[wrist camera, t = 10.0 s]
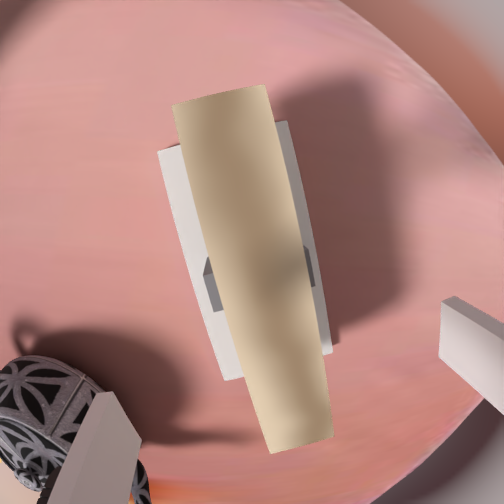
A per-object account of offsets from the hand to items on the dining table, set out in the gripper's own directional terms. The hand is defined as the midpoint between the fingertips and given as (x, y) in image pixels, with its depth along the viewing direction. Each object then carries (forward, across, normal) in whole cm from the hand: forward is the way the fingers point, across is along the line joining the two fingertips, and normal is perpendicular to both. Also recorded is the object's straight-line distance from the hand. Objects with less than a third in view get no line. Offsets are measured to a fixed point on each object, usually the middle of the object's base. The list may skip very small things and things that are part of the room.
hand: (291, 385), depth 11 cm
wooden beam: (+13, 0, 0) cm, 13 cm away
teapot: (+21, -26, -14) cm, 37 cm away
